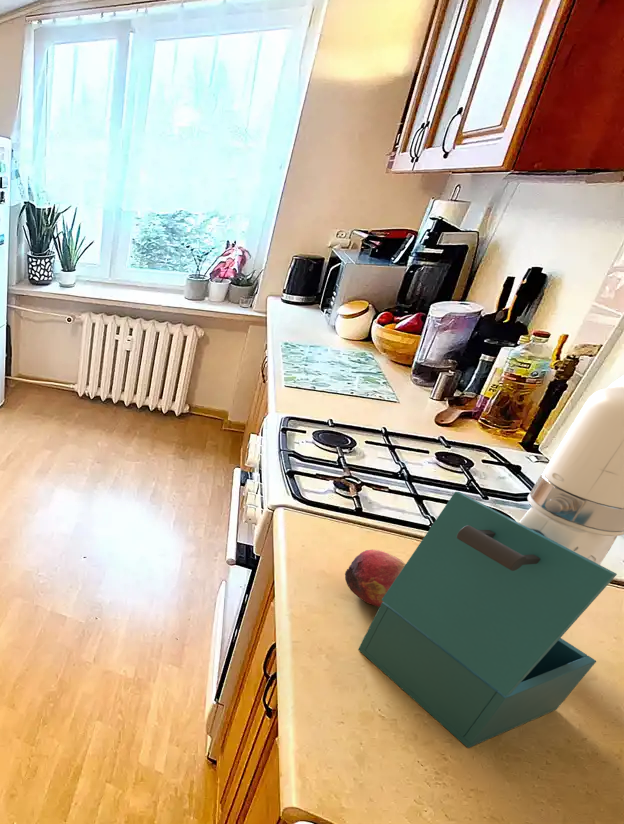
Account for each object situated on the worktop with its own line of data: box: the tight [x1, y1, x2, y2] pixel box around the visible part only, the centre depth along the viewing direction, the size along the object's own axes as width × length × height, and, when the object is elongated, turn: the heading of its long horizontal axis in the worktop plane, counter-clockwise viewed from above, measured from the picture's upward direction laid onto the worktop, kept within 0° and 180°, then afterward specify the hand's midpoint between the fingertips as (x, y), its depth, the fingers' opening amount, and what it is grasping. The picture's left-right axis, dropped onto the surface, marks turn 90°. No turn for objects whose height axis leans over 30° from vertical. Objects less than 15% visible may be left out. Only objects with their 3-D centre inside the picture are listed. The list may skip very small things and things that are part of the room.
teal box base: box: [357, 602, 597, 749], centre depth 64 cm, size 16×14×9 cm
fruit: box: [344, 549, 406, 608], centre depth 76 cm, size 8×8×8 cm
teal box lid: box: [382, 491, 618, 696], centre depth 56 cm, size 16×14×6 cm
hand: (500, 622), depth 63 cm, fingers closed on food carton, 5 cm apart
